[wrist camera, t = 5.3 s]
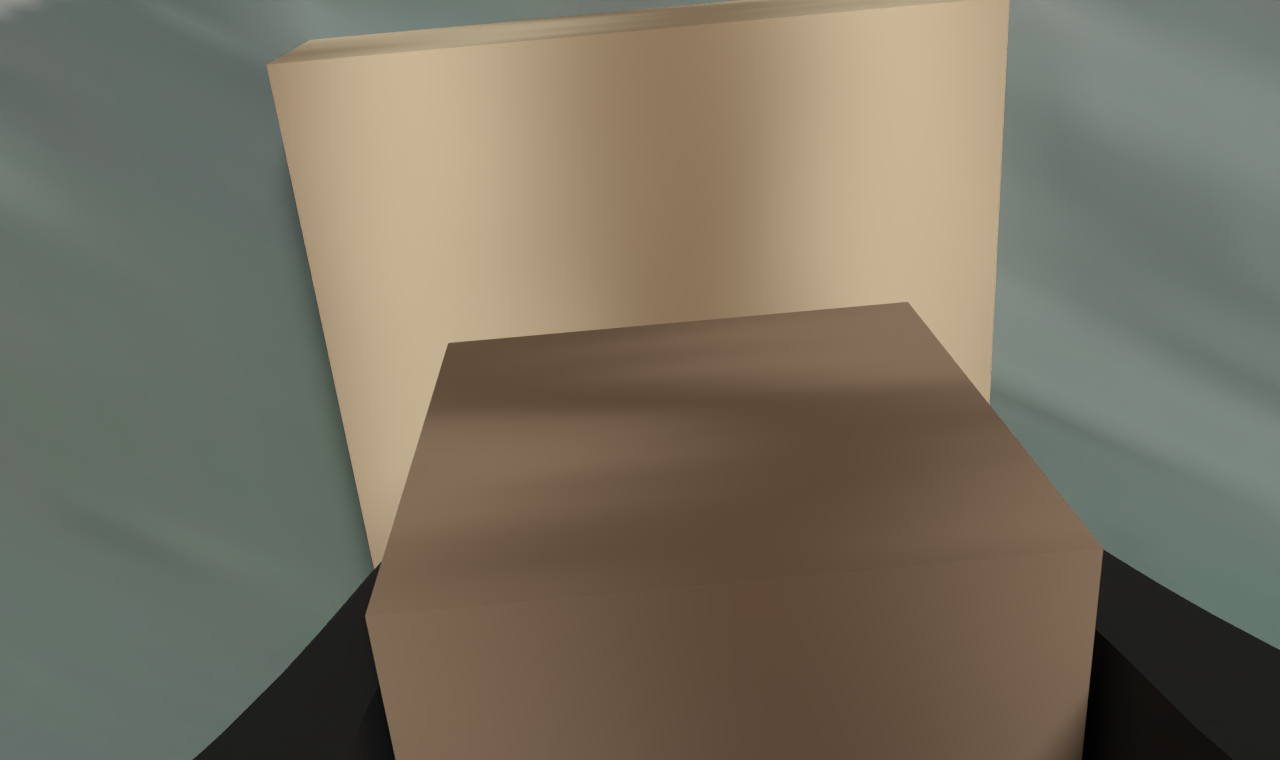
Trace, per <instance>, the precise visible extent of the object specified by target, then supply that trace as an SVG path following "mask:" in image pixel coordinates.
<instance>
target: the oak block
mask: <svg viewBox="0 0 1280 760" xmlns="http://www.w3.org/2000/svg"><path fill="white" fill-rule="evenodd" d="M1008 20H1009V0H740V1H729V2H719V3H708V4H697V5H686V6H675V7H664V8H653V9H642V10H631V11H621V12H610V13H599V14H588V15H577V16H566V17H555V18H544V19H533V20H523V21H512V22H501V23H490V24H479V25H468V26H457V27H446V28H435V29H425V30H414V31H403V32H392V33H381V34H370V35H359V36H348V37H337V38H327V39H316V40H309V41H307V42H305V43H304V44H302V45H300V46H298V47H297V48H295V49H293V50H291V51H290V52H288V53H286V54H284V55H283V56H281V57H279V58H278V59H276V60H274V61H272V62H271V63H269V64H267V69H268V74H269V78H270V83H271V88H272V92H273V97H274V102H275V106H276V111H277V116H278V120H279V125H280V130H281V134H282V139H283V144H284V149H285V153H286V158H287V163H288V167H289V172H290V177H291V181H292V186H293V191H294V195H295V200H296V205H297V210H298V214H299V219H300V224H301V228H302V233H303V238H304V242H305V247H306V252H307V256H308V261H309V266H310V270H311V275H312V280H313V285H314V289H315V294H316V299H317V303H318V308H319V313H320V317H321V322H322V327H323V331H324V336H325V341H326V346H327V350H328V355H329V360H330V364H331V369H332V374H333V378H334V383H335V388H336V392H337V397H338V402H339V406H340V411H341V416H342V421H343V425H344V430H345V435H346V439H347V444H348V449H349V453H350V458H351V463H352V467H353V472H354V477H355V482H356V486H357V491H358V496H359V500H360V505H361V510H362V514H363V519H364V524H365V528H366V533H367V538H368V543H369V547H370V552H371V557H372V561H373V566H374V569H375V568H376V567H377V566H378V565H379V564H380V562H381V561H382V559H383V556H384V552H385V549H386V546H387V542H388V539H389V536H390V533H391V529H392V526H393V523H394V519H395V516H396V513H397V510H398V506H399V503H400V500H401V496H402V493H403V490H404V487H405V483H406V480H407V477H408V473H409V470H410V467H411V464H412V460H413V457H414V454H415V450H416V447H417V444H418V441H419V437H420V434H421V431H422V427H423V424H424V421H425V418H426V414H427V411H428V408H429V404H430V401H431V398H432V395H433V391H434V388H435V385H436V381H437V378H438V375H439V372H440V368H441V365H442V362H443V358H444V355H445V352H446V349H447V345H448V343H454V342H465V341H476V340H487V339H498V338H510V337H521V336H532V335H543V334H554V333H565V332H577V331H588V330H599V329H610V328H621V327H633V326H644V325H655V324H666V323H677V322H688V321H700V320H711V319H722V318H733V317H744V316H755V315H767V314H778V313H789V312H800V311H811V310H822V309H834V308H845V307H856V306H867V305H878V304H890V303H901V302H908V303H909V304H910V305H911V306H912V308H913V309H914V310H915V311H916V313H917V314H918V315H919V316H920V318H921V319H922V320H923V322H924V323H925V324H926V325H927V327H928V328H929V329H930V330H931V332H932V333H933V334H934V335H935V337H936V338H937V339H938V340H939V342H940V343H941V344H942V345H943V347H944V348H945V349H946V351H947V352H948V353H949V354H950V356H951V357H952V358H953V359H954V361H955V362H956V363H957V364H958V366H959V367H960V368H961V369H962V371H963V372H964V373H965V374H966V376H967V377H968V378H969V380H970V381H971V382H972V383H973V385H974V386H975V387H976V388H977V390H978V391H979V392H980V393H981V395H982V396H983V397H984V398H985V400H986V401H987V402H988V403H989V404H990V384H991V364H992V343H993V323H994V303H995V283H996V263H997V242H998V222H999V202H1000V182H1001V161H1002V141H1003V121H1004V101H1005V81H1006V60H1007V40H1008Z"/></svg>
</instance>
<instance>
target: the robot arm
mask: <svg viewBox="0 0 1280 760" xmlns="http://www.w3.org/2000/svg"><path fill="white" fill-rule="evenodd" d="M381 562H382V561H381ZM381 562H380V564H379V565H378V566H377V567H376V568H375V569H374V570H373V571H372V572H371V574H370V575H369V576H368V577H367V578H366V579H365V580H364V582H363V583H362V584H361V585H360V586H359V587H358V589H357V590H356V591H355V592H354V593H353V594H352V596H351V597H350V598H349V599H348V600H347V601H346V603H345V604H344V605H343V606H342V607H341V608H340V610H339V611H338V612H337V613H336V614H335V615H334V616H333V618H332V619H331V620H330V621H329V622H328V623H327V625H326V626H325V627H324V628H323V629H322V630H321V631H320V633H319V634H318V635H317V636H316V637H315V638H314V639H313V640H312V641H311V642H310V644H309V645H308V646H307V647H306V648H305V649H304V650H303V651H302V652H301V653H300V655H299V656H298V657H297V658H296V659H295V660H294V661H293V662H292V663H291V664H290V666H289V667H288V668H287V669H286V670H285V671H284V672H283V673H282V674H281V675H280V676H279V677H278V678H277V679H276V680H275V681H274V682H273V683H272V684H271V685H270V686H269V687H268V688H267V689H266V690H265V691H264V692H263V693H262V694H261V695H260V696H259V697H258V698H257V699H256V700H255V701H254V702H253V703H252V704H251V705H250V706H249V707H248V708H247V709H246V710H245V711H244V712H243V713H242V714H241V715H240V716H239V717H238V718H237V719H236V720H235V721H234V722H233V723H232V724H231V725H230V726H229V727H228V728H227V729H226V730H225V731H224V732H223V733H222V734H221V735H220V736H219V737H218V738H217V739H215V740H214V741H213V742H212V743H211V744H210V745H209V746H208V747H207V748H206V749H205V750H203V751H202V752H201V753H200V754H199V755H198V756H197V757H195V758H194V759H193V760H395V755H394V750H393V745H392V741H391V736H390V731H389V727H388V722H387V717H386V713H385V708H384V703H383V698H382V694H381V689H380V684H379V680H378V675H377V670H376V665H375V661H374V656H373V651H372V647H371V642H370V637H369V632H368V628H367V623H366V618H365V615H366V611H367V608H368V605H369V602H370V598H371V595H372V592H373V588H374V585H375V582H376V579H377V575H378V572H379V569H380V565H381ZM1082 760H1280V650H1279V649H1277V648H1275V647H1273V646H1271V645H1269V644H1267V643H1265V642H1263V641H1261V640H1260V639H1258V638H1256V637H1254V636H1252V635H1250V634H1248V633H1246V632H1245V631H1243V630H1241V629H1239V628H1237V627H1235V626H1233V625H1231V624H1230V623H1228V622H1226V621H1224V620H1222V619H1220V618H1218V617H1216V616H1214V615H1213V614H1211V613H1209V612H1207V611H1206V610H1204V609H1202V608H1200V607H1198V606H1197V605H1195V604H1193V603H1191V602H1190V601H1188V600H1186V599H1184V598H1183V597H1181V596H1179V595H1177V594H1176V593H1174V592H1172V591H1171V590H1169V589H1167V588H1166V587H1164V586H1162V585H1160V584H1159V583H1157V582H1155V581H1154V580H1152V579H1150V578H1149V577H1147V576H1145V575H1144V574H1142V573H1140V572H1139V571H1137V570H1135V569H1134V568H1132V567H1131V566H1129V565H1127V564H1126V563H1124V562H1122V561H1121V560H1119V559H1118V558H1116V557H1114V556H1113V555H1111V554H1110V553H1108V552H1106V551H1105V550H1103V556H1102V566H1101V576H1100V586H1099V596H1098V605H1097V615H1096V625H1095V635H1094V644H1093V654H1092V664H1091V674H1090V684H1089V693H1088V703H1087V713H1086V723H1085V733H1084V742H1083V752H1082Z"/></svg>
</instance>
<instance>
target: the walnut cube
mask: <svg viewBox="0 0 1280 760" xmlns="http://www.w3.org/2000/svg"><path fill="white" fill-rule="evenodd" d="M1102 556H1103V547H1102V546H1101V545H1100V544H1099V542H1098V541H1097V540H1096V538H1095V537H1094V536H1093V535H1092V533H1091V532H1090V531H1089V530H1088V528H1087V527H1086V526H1085V525H1084V523H1083V522H1082V521H1081V520H1080V518H1079V517H1078V516H1077V514H1076V513H1075V512H1074V511H1073V509H1072V508H1071V507H1070V506H1069V504H1068V503H1067V502H1066V501H1065V499H1064V498H1063V497H1062V496H1061V494H1060V493H1059V492H1058V491H1057V489H1056V488H1055V487H1054V485H1053V484H1052V483H1051V482H1050V480H1049V479H1048V478H1047V477H1046V475H1045V474H1044V473H1043V472H1042V470H1041V469H1040V468H1039V467H1038V465H1037V464H1036V463H1035V462H1034V460H1033V459H1032V458H1031V456H1030V455H1029V454H1028V453H1027V451H1026V450H1025V449H1024V448H1023V446H1022V445H1021V444H1020V443H1019V441H1018V440H1017V439H1016V438H1015V436H1014V435H1013V434H1012V433H1011V431H1010V430H1009V429H1008V427H1007V426H1006V425H1005V424H1004V422H1003V421H1002V420H1001V419H1000V417H999V416H998V415H997V414H996V412H995V411H994V410H993V409H992V407H991V406H990V405H989V403H988V402H987V401H986V400H985V398H984V397H983V396H982V395H981V393H980V392H979V391H978V390H977V388H976V387H975V386H974V385H973V383H972V382H971V381H970V380H969V378H968V377H967V376H966V374H965V373H964V372H963V371H962V369H961V368H960V367H959V366H958V364H957V363H956V362H955V361H954V359H953V358H952V357H951V356H950V354H949V353H948V352H947V351H946V349H945V348H944V347H943V345H942V344H941V343H940V342H939V340H938V339H937V338H936V337H935V335H934V334H933V333H932V332H931V330H930V329H929V328H928V327H927V325H926V324H925V323H924V322H923V320H922V319H921V318H920V316H919V315H918V314H917V313H916V311H915V310H914V309H913V308H912V306H911V305H910V304H909V303H908V302H901V303H890V304H878V305H867V306H856V307H845V308H834V309H822V310H811V311H800V312H789V313H778V314H767V315H755V316H744V317H733V318H722V319H711V320H700V321H688V322H677V323H666V324H655V325H644V326H633V327H621V328H610V329H599V330H588V331H577V332H565V333H554V334H543V335H532V336H521V337H510V338H498V339H487V340H476V341H465V342H454V343H448V345H447V349H446V352H445V355H444V358H443V362H442V365H441V368H440V372H439V375H438V378H437V381H436V385H435V388H434V391H433V395H432V398H431V401H430V404H429V408H428V411H427V414H426V418H425V421H424V424H423V427H422V431H421V434H420V437H419V441H418V444H417V447H416V450H415V454H414V457H413V460H412V464H411V467H410V470H409V473H408V477H407V480H406V483H405V487H404V490H403V493H402V496H401V500H400V503H399V506H398V510H397V513H396V516H395V519H394V523H393V526H392V529H391V533H390V536H389V539H388V542H387V546H386V549H385V552H384V556H383V559H382V562H381V565H380V569H379V572H378V575H377V579H376V582H375V585H374V588H373V592H372V595H371V598H370V602H369V605H368V608H367V611H366V615H365V618H366V623H367V628H368V632H369V637H370V642H371V647H372V651H373V656H374V661H375V665H376V670H377V675H378V680H379V684H380V689H381V694H382V698H383V703H384V708H385V713H386V717H387V722H388V727H389V731H390V736H391V741H392V745H393V750H394V755H395V760H1082V752H1083V742H1084V733H1085V723H1086V713H1087V703H1088V693H1089V684H1090V674H1091V664H1092V654H1093V644H1094V635H1095V625H1096V615H1097V605H1098V596H1099V586H1100V576H1101V566H1102Z"/></svg>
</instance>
